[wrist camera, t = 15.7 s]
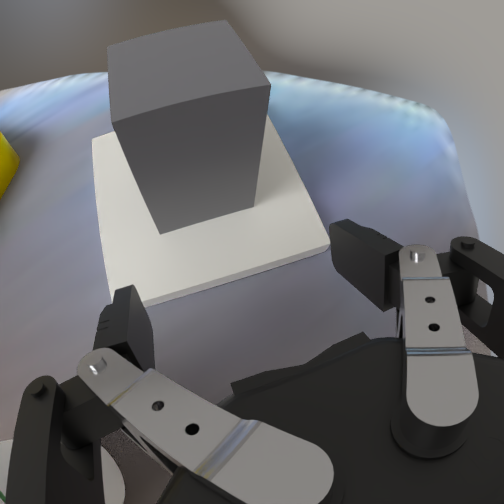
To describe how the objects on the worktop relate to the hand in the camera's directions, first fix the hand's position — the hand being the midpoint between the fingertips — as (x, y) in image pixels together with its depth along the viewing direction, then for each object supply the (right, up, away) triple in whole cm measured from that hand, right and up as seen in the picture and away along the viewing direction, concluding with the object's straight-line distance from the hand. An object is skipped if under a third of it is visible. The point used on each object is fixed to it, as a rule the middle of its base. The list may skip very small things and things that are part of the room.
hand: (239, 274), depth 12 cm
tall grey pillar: (-3, +6, +9) cm, 11 cm away
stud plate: (-3, +5, +10) cm, 12 cm away
